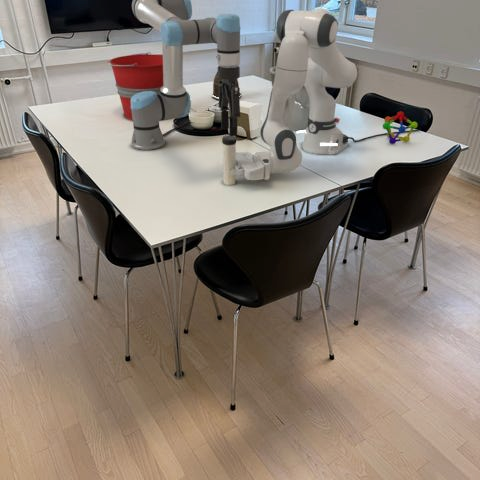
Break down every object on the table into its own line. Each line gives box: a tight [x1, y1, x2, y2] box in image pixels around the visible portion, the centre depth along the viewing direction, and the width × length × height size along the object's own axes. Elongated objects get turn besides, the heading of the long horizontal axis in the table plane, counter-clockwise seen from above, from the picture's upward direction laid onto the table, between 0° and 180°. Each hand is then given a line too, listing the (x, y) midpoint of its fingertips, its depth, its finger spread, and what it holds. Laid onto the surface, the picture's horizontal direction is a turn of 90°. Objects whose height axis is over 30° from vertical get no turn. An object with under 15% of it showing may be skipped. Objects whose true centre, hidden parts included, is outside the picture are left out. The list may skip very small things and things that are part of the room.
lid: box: [221, 135, 237, 145], centre depth 163 cm, size 5×5×2 cm
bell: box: [212, 70, 242, 97], centre depth 278 cm, size 19×26×20 cm
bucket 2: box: [269, 65, 310, 131], centre depth 226 cm, size 30×30×28 cm
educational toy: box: [382, 110, 418, 145], centre depth 207 cm, size 16×13×15 cm
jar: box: [222, 143, 237, 186], centre depth 167 cm, size 5×5×18 cm
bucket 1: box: [106, 51, 163, 121], centre depth 240 cm, size 35×35×30 cm
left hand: (229, 131), depth 161 cm, fingers open, 7 cm apart
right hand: (227, 167), depth 168 cm, fingers open, 8 cm apart
